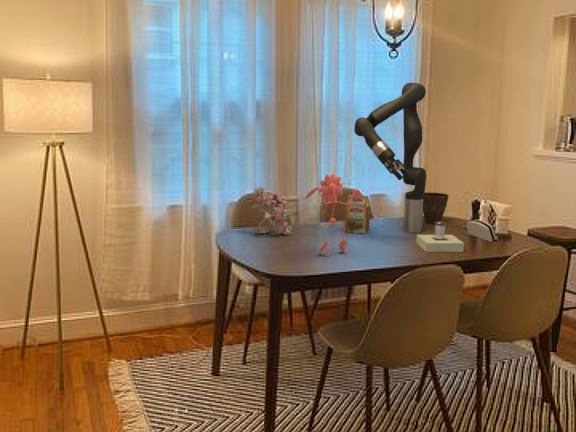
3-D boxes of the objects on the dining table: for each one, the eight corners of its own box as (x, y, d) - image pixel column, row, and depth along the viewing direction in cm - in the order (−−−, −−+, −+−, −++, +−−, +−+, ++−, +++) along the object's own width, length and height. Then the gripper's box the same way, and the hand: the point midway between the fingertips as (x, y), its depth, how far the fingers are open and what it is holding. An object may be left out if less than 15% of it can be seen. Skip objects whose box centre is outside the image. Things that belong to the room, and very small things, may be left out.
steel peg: (432, 246, 275) (433, 220, 272) (442, 246, 275) (444, 221, 273) (435, 248, 270) (436, 223, 268) (445, 248, 270) (447, 223, 268)
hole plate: (416, 242, 281) (416, 234, 280) (451, 242, 282) (452, 234, 281) (425, 251, 264) (426, 243, 263) (463, 251, 265) (464, 243, 264)
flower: (262, 239, 278) (284, 191, 279) (234, 226, 294) (254, 181, 295) (290, 251, 292) (310, 204, 293) (262, 238, 308) (281, 194, 309)
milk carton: (344, 233, 301) (345, 196, 297) (349, 229, 310) (350, 193, 307) (365, 234, 297) (366, 197, 294) (369, 230, 307) (370, 194, 304)
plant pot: (441, 220, 336) (443, 192, 333) (450, 225, 322) (452, 196, 318) (416, 220, 335) (417, 192, 332) (423, 225, 321) (425, 196, 318)
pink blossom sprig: (363, 252, 261) (364, 173, 255) (312, 259, 249) (313, 177, 243) (344, 246, 275) (345, 171, 269) (295, 252, 263) (295, 173, 257)
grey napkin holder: (499, 240, 287) (495, 222, 284) (491, 244, 286) (487, 226, 283) (475, 233, 302) (471, 216, 299) (468, 237, 301) (464, 219, 298)
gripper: (382, 147, 274) (404, 174, 270) (394, 146, 285) (415, 171, 281) (371, 158, 277) (393, 185, 273) (383, 156, 289) (404, 181, 285)
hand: (404, 178), depth 277 cm, fingers open, 8 cm apart
